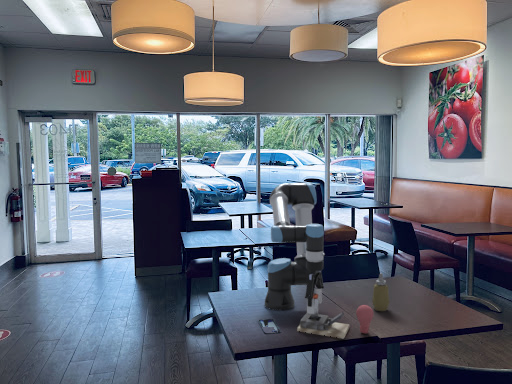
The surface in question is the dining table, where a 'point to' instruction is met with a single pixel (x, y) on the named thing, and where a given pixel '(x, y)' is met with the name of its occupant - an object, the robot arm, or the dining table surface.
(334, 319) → the tab
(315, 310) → the pin
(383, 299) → the squeeze bottle
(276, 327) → the smartphone
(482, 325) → the dining table surface
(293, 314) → the dining table surface
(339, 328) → the block
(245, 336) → the dining table surface
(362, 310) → the light bulb
